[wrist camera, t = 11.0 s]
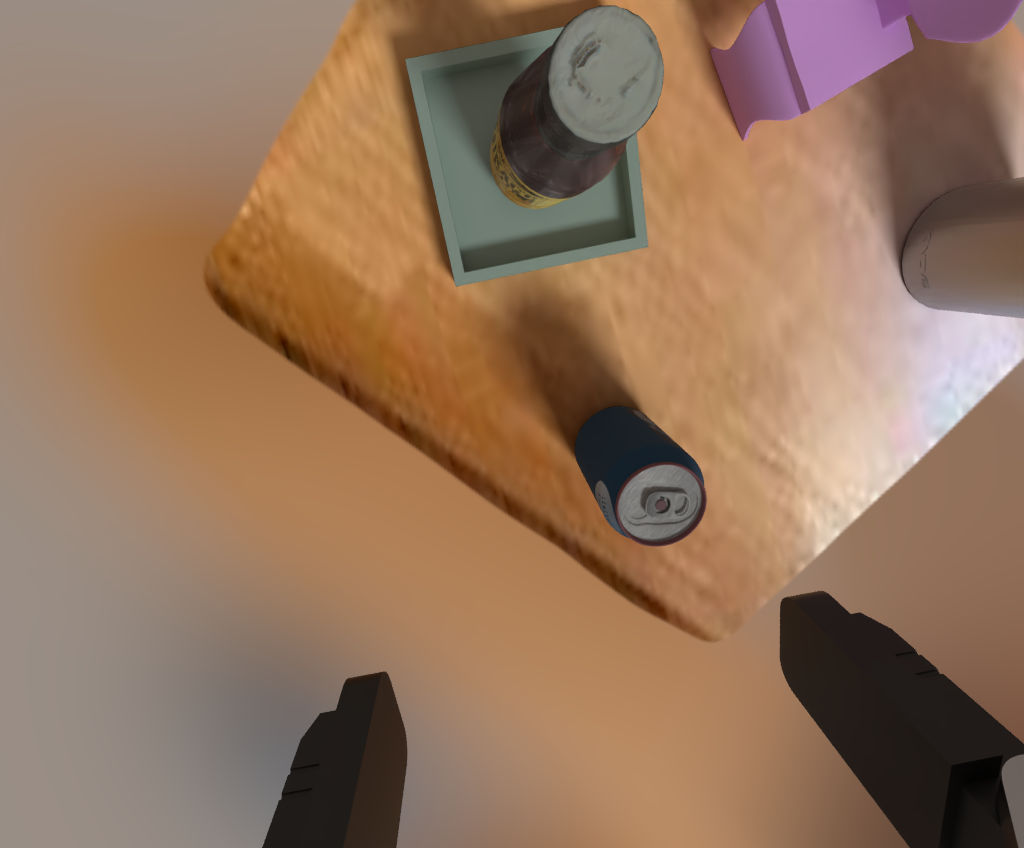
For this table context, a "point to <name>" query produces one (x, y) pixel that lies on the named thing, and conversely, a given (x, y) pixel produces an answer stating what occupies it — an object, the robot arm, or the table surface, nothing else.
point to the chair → (834, 48)
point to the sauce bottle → (576, 108)
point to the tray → (470, 183)
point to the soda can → (640, 477)
